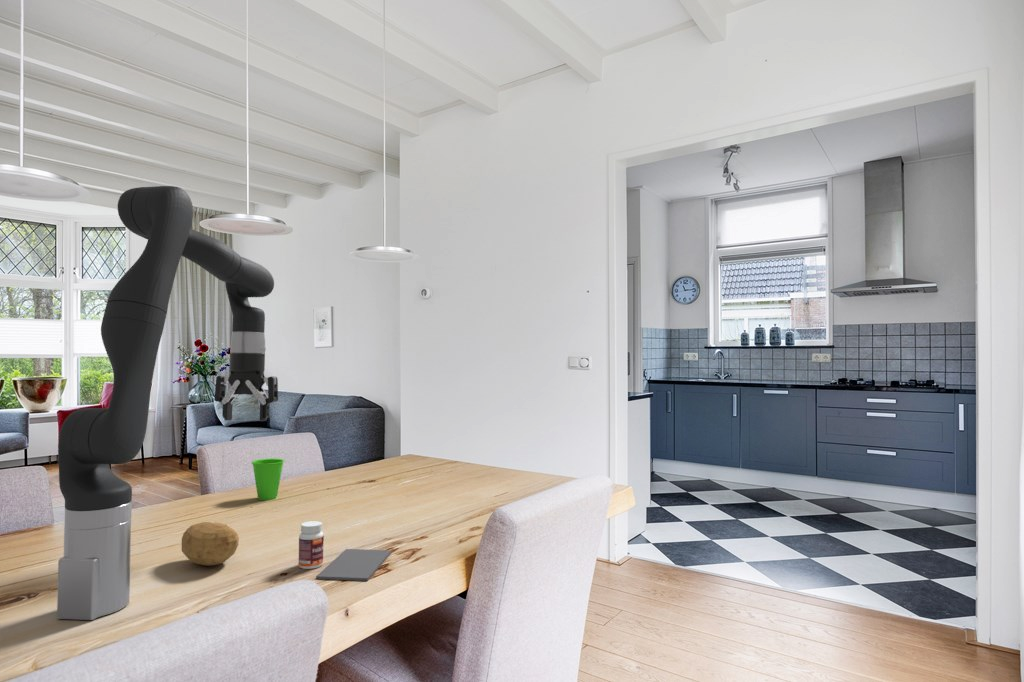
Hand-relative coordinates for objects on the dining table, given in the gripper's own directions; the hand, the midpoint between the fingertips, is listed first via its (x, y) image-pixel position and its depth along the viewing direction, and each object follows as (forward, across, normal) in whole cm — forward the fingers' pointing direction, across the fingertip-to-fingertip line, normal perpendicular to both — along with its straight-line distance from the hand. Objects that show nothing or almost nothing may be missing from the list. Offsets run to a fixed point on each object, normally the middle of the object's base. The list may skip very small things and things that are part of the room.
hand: (245, 420), depth 139 cm
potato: (+28, +2, -18) cm, 33 cm away
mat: (+27, +32, -16) cm, 45 cm away
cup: (+26, -12, +37) cm, 47 cm away
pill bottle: (+28, +23, -17) cm, 40 cm away
